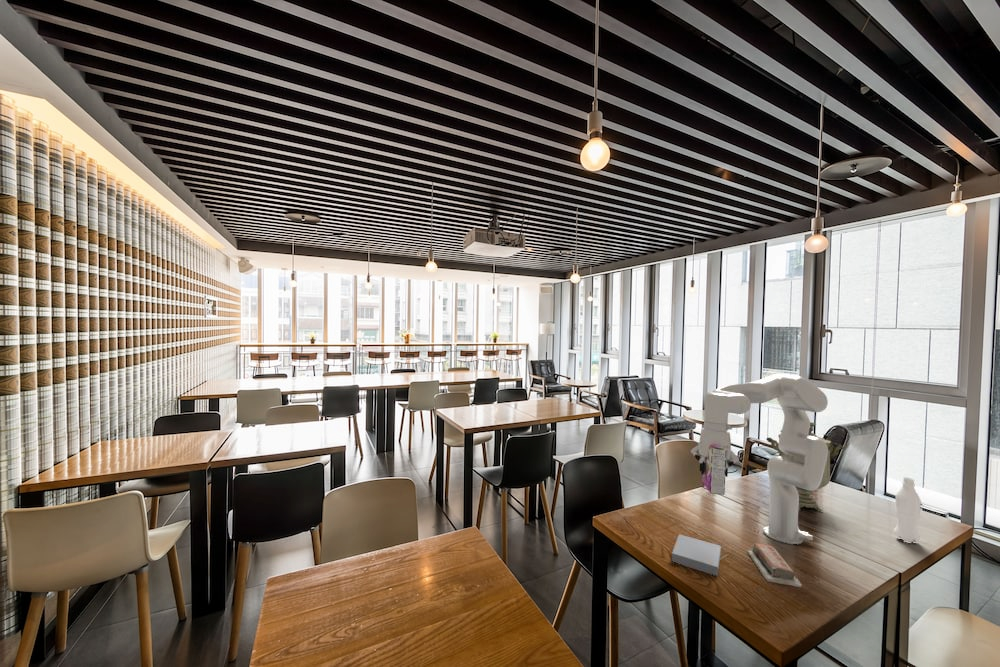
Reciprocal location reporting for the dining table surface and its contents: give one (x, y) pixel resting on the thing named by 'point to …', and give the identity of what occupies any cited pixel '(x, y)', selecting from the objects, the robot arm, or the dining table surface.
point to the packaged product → (773, 565)
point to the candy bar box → (715, 470)
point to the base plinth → (697, 554)
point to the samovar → (804, 494)
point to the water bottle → (907, 512)
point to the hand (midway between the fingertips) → (713, 475)
